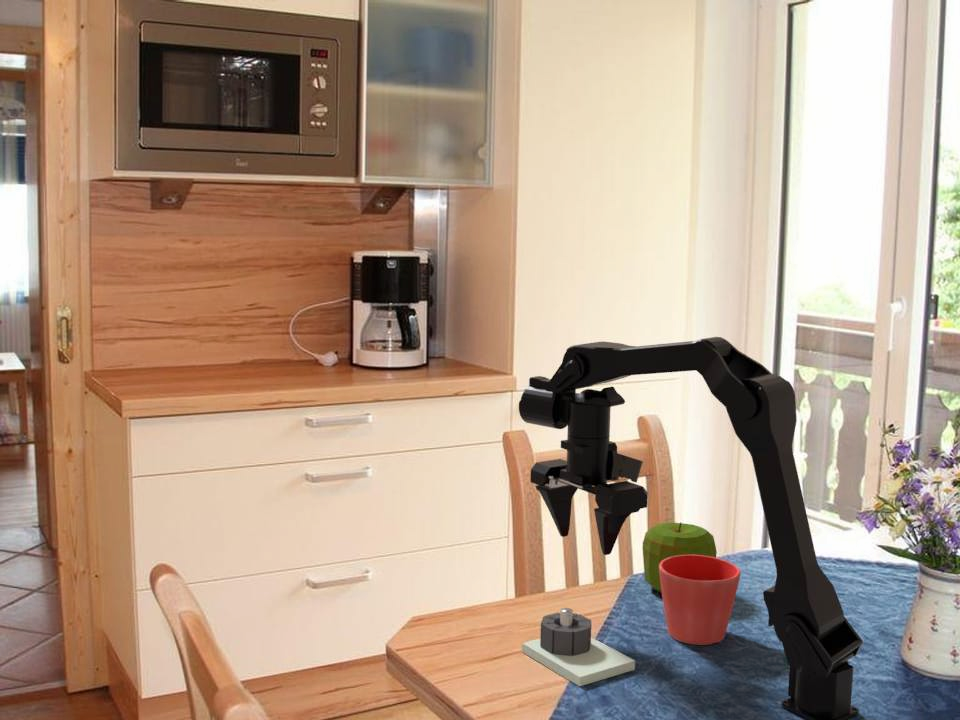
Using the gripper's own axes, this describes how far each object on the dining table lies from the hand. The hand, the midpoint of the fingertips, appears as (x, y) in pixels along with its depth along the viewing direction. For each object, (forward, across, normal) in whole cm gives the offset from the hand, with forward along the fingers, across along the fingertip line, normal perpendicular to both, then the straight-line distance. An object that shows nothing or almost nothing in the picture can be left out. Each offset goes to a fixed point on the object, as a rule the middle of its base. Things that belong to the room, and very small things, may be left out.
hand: (585, 545), depth 147 cm
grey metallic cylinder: (+12, -6, +7) cm, 15 cm away
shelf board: (+12, -8, +7) cm, 16 cm away
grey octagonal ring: (+11, -6, +7) cm, 14 cm away
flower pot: (+12, -10, -12) cm, 20 cm away
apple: (+12, +4, -22) cm, 26 cm away
